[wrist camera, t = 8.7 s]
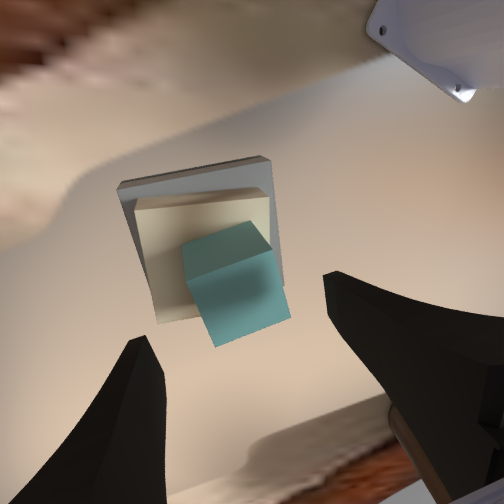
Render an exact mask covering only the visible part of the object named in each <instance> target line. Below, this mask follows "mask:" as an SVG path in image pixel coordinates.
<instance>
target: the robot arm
mask: <svg viewBox="0 0 504 504" xmlns="http://www.w3.org/2000/svg"><path fill="white" fill-rule="evenodd" d="M380 27H382V29H383V34H382V36H381V35H380V34H379V29H380ZM366 32H367V34H368V36H369V37H371V38H372V39H374V40H375V41H376V42H378V43H379V44H380V45H382V46H383V47H384V48H386V49H387V50H388V51H390V52H391V53H392V54H394V55H395V56H397V57H398V58H399V59H401V60H402V61H403V62H405V63H406V64H407V65H409V66H410V67H411V68H413V69H414V70H416V71H417V72H418V73H419V74H421V75H422V76H424V77H425V78H426V79H428V80H429V81H430V82H432V83H433V84H434V85H436V86H437V87H438V88H440V89H441V90H442V91H444V92H445V93H446V94H448V95H449V96H451V97H452V98H453V99H455V100H456V101H457V102H459V103H466V102H468V101H469V100H470V99H471V97H472V95H473V94H474V92H475V91H476V89H491V88H504V0H377V3H376V5H375V7H374V9H373V11H372V13H371V15H370V18H369V20H368V22H367V25H366ZM455 86H456V90H455V89H454V88H455ZM323 281H324V289H325V297H326V305H327V313H328V316H329V318H330V319H331V321H332V323H333V324H334V326H335V327H336V329H337V331H338V332H339V333H340V335H341V336H342V338H343V339H344V340H345V341H346V342H347V344H348V345H349V346H350V348H351V349H352V350H353V351H354V353H355V354H356V355H357V356H358V357H359V358H360V360H361V361H362V362H363V363H364V364H365V366H366V367H367V368H368V370H369V371H370V372H371V373H372V374H373V376H374V377H375V378H376V379H377V381H378V382H379V383H380V384H381V386H382V387H383V389H384V390H385V392H386V393H387V395H388V396H389V398H390V399H391V401H392V402H393V404H394V405H395V407H396V408H397V410H398V411H399V413H400V414H401V416H402V417H403V419H404V421H405V422H406V424H407V425H408V427H409V428H410V430H411V431H412V433H413V435H414V436H415V438H416V439H417V441H418V443H419V444H420V446H421V448H422V449H423V451H424V453H425V454H426V456H427V458H428V459H429V461H430V462H431V464H432V466H433V467H434V469H435V471H436V473H437V474H438V476H439V478H440V480H441V481H442V483H443V485H444V486H445V488H446V490H447V492H448V493H449V495H450V497H451V499H452V500H453V502H451V503H449V504H504V317H496V316H488V315H481V314H475V313H469V312H464V311H459V310H453V309H449V308H444V307H440V306H435V305H431V304H428V303H424V302H420V301H417V300H413V299H410V298H407V297H404V296H401V295H398V294H395V293H392V292H389V291H387V290H384V289H381V288H378V287H376V286H373V285H371V284H369V283H366V282H364V281H361V280H359V279H356V278H354V277H352V276H349V275H347V274H344V273H342V272H339V271H334V272H331V273H328V274H325V275H323ZM166 404H167V397H166V386H165V376H164V372H163V370H162V368H161V366H160V363H159V361H158V360H157V357H156V356H155V353H154V351H153V349H152V347H151V345H150V343H149V341H148V339H147V337H146V335H144V336H141V337H138V338H135V339H132V340H129V341H128V343H127V345H126V346H125V348H124V350H123V352H122V353H121V355H120V357H119V359H118V360H117V362H116V364H115V366H114V367H113V369H112V371H111V373H110V374H109V376H108V378H107V379H106V381H105V383H104V384H103V386H102V388H101V389H100V391H99V392H98V394H97V395H96V397H95V398H94V400H93V402H92V403H91V404H90V406H89V407H88V409H87V411H86V412H85V414H84V415H83V416H82V418H81V419H80V421H79V422H78V423H77V425H76V426H75V428H74V429H73V430H72V431H71V433H70V434H69V435H68V436H67V438H66V439H65V440H64V442H63V443H62V444H61V445H60V447H59V448H58V449H57V450H56V452H55V453H54V454H53V455H52V456H51V457H50V458H49V460H48V461H47V462H46V463H45V464H44V465H43V466H42V468H41V469H40V470H39V471H38V472H37V474H36V475H35V476H34V477H33V478H32V479H31V480H30V481H29V483H28V484H27V485H26V486H25V487H24V488H23V489H22V490H21V491H20V492H19V493H18V494H17V495H16V496H15V497H14V498H13V500H12V501H11V502H10V503H8V504H167V498H166V483H165V439H166V406H167V405H166Z"/></svg>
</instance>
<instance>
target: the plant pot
mask: <svg viewBox="0 0 504 504" xmlns="http://www.w3.org/2000/svg"><path fill="white" fill-rule="evenodd" d="M389 424H390V427H391V430H392V431H393V433H394V435H395V436H396V438H397V439H398V441H399V443H400V444H401V446H402V447H403V449H404V451H405V452H406V454H407V456H408V457H409V459H410V460H411V462H412V464H413V465H414V467H415V469H416V470H417V472H418V474H419V475H420V477H421V479H422V480H423V482H424V483H425V485H426V487H427V489H428V490H429V492H430V493H431V495H432V497H433V498H434V500H435V502H436V503H437V504H449V503H451V502H453V500H452V499H451V497H450V495H449V493H448V492H447V490H446V488H445V486H444V485H443V483H442V481H441V480H440V478H439V476H438V474H437V473H436V471H435V469H434V467H433V466H432V464H431V462H430V461H429V459H428V458H427V456H426V454H425V453H424V451H423V449H422V448H421V446H420V444H419V443H418V441H417V439H416V438H415V436H414V435H413V433H412V431H411V430H410V428H409V427H408V425H407V424H406V422H405V421H404V419H403V417H402V416H401V414H400V413H399V411H398V410H397V408H396V407H395V405H392V408H391V410H390V415H389Z"/></svg>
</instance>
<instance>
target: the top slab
mask: <svg viewBox="0 0 504 504" xmlns="http://www.w3.org/2000/svg"><path fill="white" fill-rule="evenodd" d="M134 212H135V217H136V222H137V227H138V232H139V236H140V241H141V246H142V251H143V256H144V261H145V266H146V271H147V276H148V281H149V285H150V290H151V295H152V300H153V305H154V310H155V314H156V320H157V324H161V323H167V322H173V321H178V320H184V319H189V318H195V317H200V316H201V314H200V312H199V310H198V308H197V305H196V303H195V301H194V299H193V296H192V294H191V292H190V290H189V287H188V285H187V283H186V279H185V271H184V262H183V254H182V246H181V245H183V244H185V243H188V242H191V241H194V240H197V239H200V238H202V237H205V236H208V235H211V234H214V233H217V232H219V231H222V230H225V229H228V228H231V227H233V226H236V225H239V224H242V223H245V222H248V221H250V220H251V221H252V223H253V224H254V225H255V227H256V228H257V229H258V231H259V232H260V233H261V234H262V236H263V237H264V238H265V240H266V241H267V242H268V244H269V245H270V215H269V196H268V195H267V194H265V193H264V192H263V191H262V190H261V189H259V188H258V187H248V188H238V189H227V190H216V191H206V192H195V193H185V194H174V195H164V196H153V197H143V198H138V200H137V203H136V206H135V210H134Z"/></svg>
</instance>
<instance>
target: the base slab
mask: <svg viewBox="0 0 504 504" xmlns="http://www.w3.org/2000/svg"><path fill="white" fill-rule="evenodd" d="M248 187H258V188H259V189H261V190H262V191H263V192H264V193H265V194H267V195H268V196H269V215H270V246H271V248H272V249H273V252H274V255H275V259H276V263H277V267H278V270H279V274H280V278H281V282H282V285H283V286H284V277H283V267H282V258H281V249H280V240H279V230H278V221H277V211H276V202H275V193H274V184H273V174H272V165H271V160H269V159H267V158H265V157H263V156H261V155H257V156H252V157H247V158H242V159H236V160H231V161H225V162H220V163H215V164H209V165H204V166H199V167H193V168H188V169H183V170H177V171H172V172H167V173H161V174H156V175H151V176H145V177H140V178H135V179H129V180H124V181H121V183H120V185H119V187H118V188H117V193H118V196H119V199H120V202H121V204H122V208H123V211H124V214H125V217H126V220H127V223H128V226H129V228H130V232H131V235H132V237H133V240H134V243H135V246H136V249H137V252H138V255H139V258H140V261H141V264H142V267H143V270H144V273H145V276H146V279H147V281H148V276H147V271H146V266H145V261H144V256H143V251H142V246H141V241H140V236H139V232H138V227H137V222H136V217H135V212H134V210H135V206H136V203H137V200H138V198H143V197H153V196H164V195H174V194H185V193H195V192H206V191H216V190H227V189H238V188H248ZM148 285H149V281H148ZM149 288H150V285H149ZM150 291H151V290H150Z"/></svg>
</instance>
